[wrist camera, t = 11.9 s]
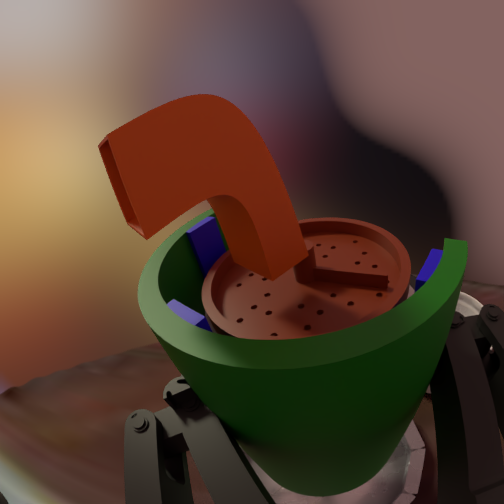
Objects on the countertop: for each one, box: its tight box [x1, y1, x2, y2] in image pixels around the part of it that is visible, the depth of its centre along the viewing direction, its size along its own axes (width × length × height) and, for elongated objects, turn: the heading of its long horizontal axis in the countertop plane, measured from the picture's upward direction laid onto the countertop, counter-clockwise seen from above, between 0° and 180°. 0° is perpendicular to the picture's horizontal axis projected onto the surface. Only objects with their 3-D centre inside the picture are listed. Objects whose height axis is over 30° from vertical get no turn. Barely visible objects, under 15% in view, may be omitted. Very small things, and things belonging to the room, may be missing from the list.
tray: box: [240, 420, 425, 504], centre depth 20 cm, size 20×20×3 cm
